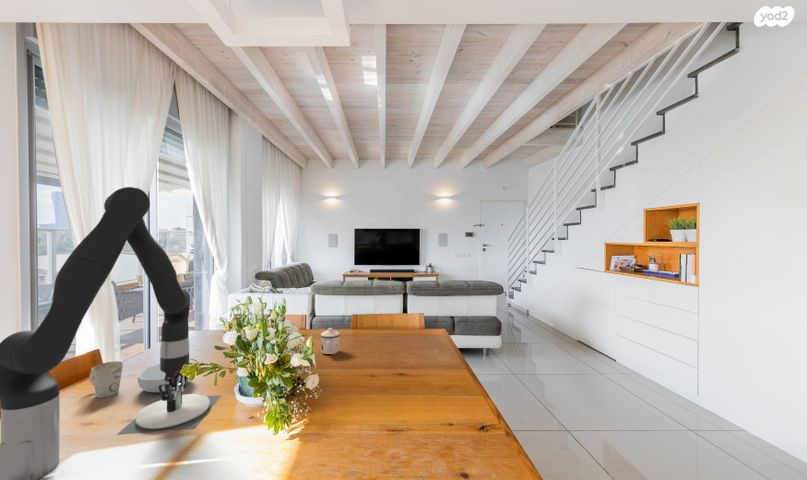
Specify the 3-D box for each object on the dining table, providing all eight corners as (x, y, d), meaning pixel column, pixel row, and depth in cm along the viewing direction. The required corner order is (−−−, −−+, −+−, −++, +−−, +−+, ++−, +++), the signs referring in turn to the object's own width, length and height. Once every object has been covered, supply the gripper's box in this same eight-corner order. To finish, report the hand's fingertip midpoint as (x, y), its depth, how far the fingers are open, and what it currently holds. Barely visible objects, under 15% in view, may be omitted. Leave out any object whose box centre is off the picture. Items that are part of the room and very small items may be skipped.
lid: (193, 426, 96) (193, 405, 96) (119, 431, 93) (119, 409, 93) (218, 395, 115) (219, 378, 115) (158, 398, 112) (158, 381, 112)
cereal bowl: (147, 382, 127) (147, 363, 127) (197, 376, 133) (197, 358, 133) (129, 403, 111) (129, 382, 111) (187, 395, 117) (187, 375, 117)
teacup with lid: (322, 349, 166) (322, 325, 166) (340, 349, 167) (340, 325, 166) (317, 358, 154) (317, 332, 154) (337, 357, 155) (337, 332, 155)
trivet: (195, 430, 96) (195, 428, 96) (116, 436, 93) (116, 434, 93) (220, 397, 116) (220, 395, 116) (157, 401, 113) (157, 399, 113)
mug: (104, 400, 113) (104, 371, 113) (75, 396, 115) (75, 368, 115) (129, 389, 121) (129, 362, 121) (101, 386, 123) (101, 359, 123)
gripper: (176, 360, 98) (176, 419, 98) (198, 345, 112) (197, 396, 112) (148, 362, 97) (147, 421, 97) (173, 346, 111) (173, 398, 111)
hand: (174, 407), depth 104 cm, fingers closed on lid, 3 cm apart
